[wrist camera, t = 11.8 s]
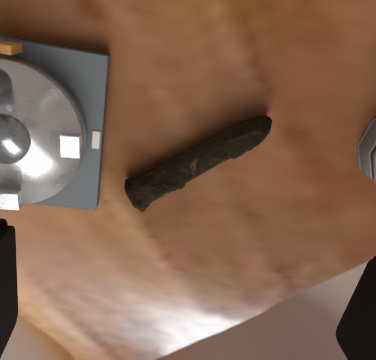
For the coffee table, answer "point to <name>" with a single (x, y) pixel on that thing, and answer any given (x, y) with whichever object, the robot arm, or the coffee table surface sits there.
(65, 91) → the silver disc
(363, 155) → the can
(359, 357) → the robot arm
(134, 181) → the hand tool
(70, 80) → the gray plinth
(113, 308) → the coffee table surface
